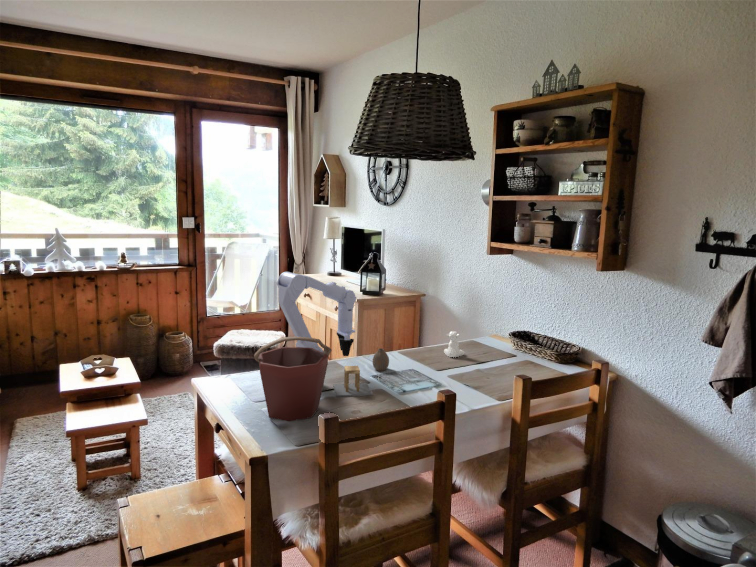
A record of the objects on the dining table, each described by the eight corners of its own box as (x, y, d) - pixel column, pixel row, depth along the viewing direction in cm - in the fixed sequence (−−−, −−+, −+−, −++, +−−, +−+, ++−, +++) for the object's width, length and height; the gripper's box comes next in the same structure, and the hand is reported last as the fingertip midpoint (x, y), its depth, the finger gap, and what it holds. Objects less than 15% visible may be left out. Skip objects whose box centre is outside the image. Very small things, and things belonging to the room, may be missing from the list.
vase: (387, 373, 208) (387, 352, 207) (370, 371, 209) (371, 350, 208) (390, 367, 215) (390, 347, 213) (374, 366, 216) (374, 346, 215)
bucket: (331, 398, 180) (333, 329, 176) (327, 426, 158) (329, 348, 154) (261, 397, 179) (261, 328, 175) (248, 425, 157) (247, 346, 153)
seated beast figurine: (464, 354, 237) (466, 329, 235) (463, 359, 228) (464, 333, 227) (444, 352, 239) (445, 327, 237) (442, 357, 231) (443, 332, 229)
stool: (345, 391, 185) (346, 370, 184) (344, 386, 190) (344, 366, 188) (359, 391, 186) (359, 370, 184) (357, 386, 191) (357, 365, 189)
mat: (336, 396, 181) (336, 395, 181) (333, 385, 192) (333, 384, 192) (372, 395, 184) (372, 393, 184) (367, 384, 194) (367, 382, 194)
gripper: (358, 323, 193) (357, 358, 195) (352, 315, 207) (352, 347, 209) (339, 324, 192) (339, 358, 194) (335, 315, 206) (334, 347, 208)
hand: (344, 353), depth 202 cm, fingers open, 7 cm apart
